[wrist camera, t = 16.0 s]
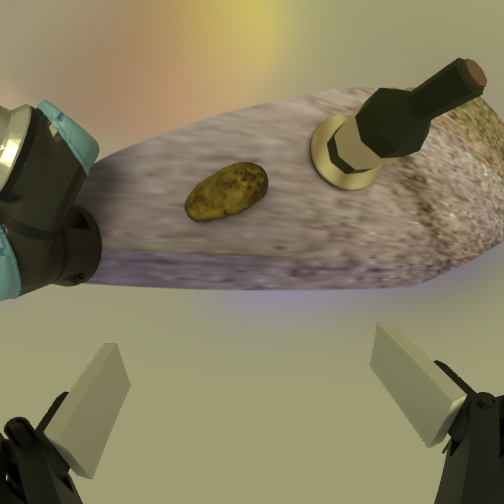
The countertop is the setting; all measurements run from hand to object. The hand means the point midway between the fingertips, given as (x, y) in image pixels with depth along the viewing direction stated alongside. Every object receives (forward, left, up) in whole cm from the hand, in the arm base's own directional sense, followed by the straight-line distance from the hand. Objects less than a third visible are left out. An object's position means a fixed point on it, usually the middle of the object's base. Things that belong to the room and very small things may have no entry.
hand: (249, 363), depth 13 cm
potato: (-5, +11, -34) cm, 36 cm away
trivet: (+14, +21, -34) cm, 42 cm away
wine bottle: (+14, +21, -31) cm, 40 cm away
